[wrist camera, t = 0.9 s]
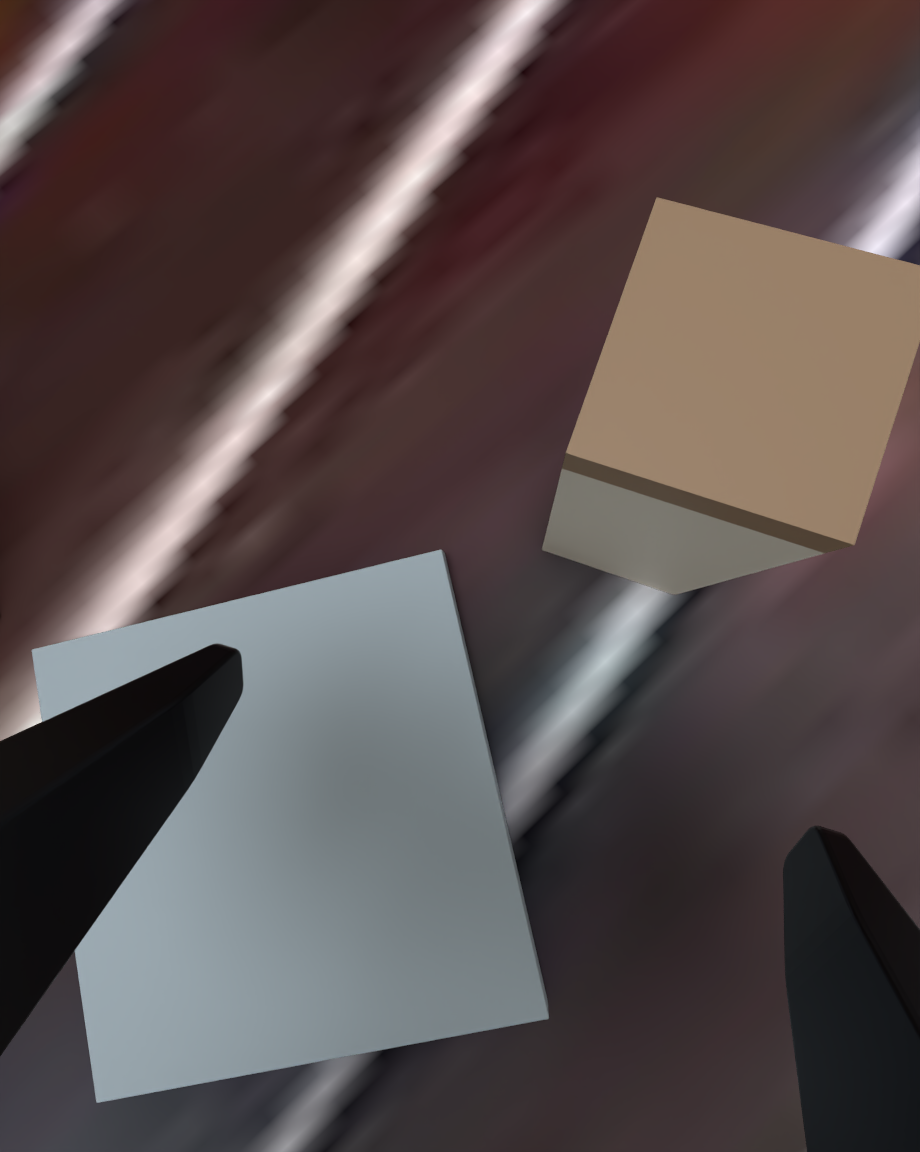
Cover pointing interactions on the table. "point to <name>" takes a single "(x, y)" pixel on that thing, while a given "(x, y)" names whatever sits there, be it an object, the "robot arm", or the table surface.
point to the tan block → (735, 403)
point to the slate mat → (309, 844)
